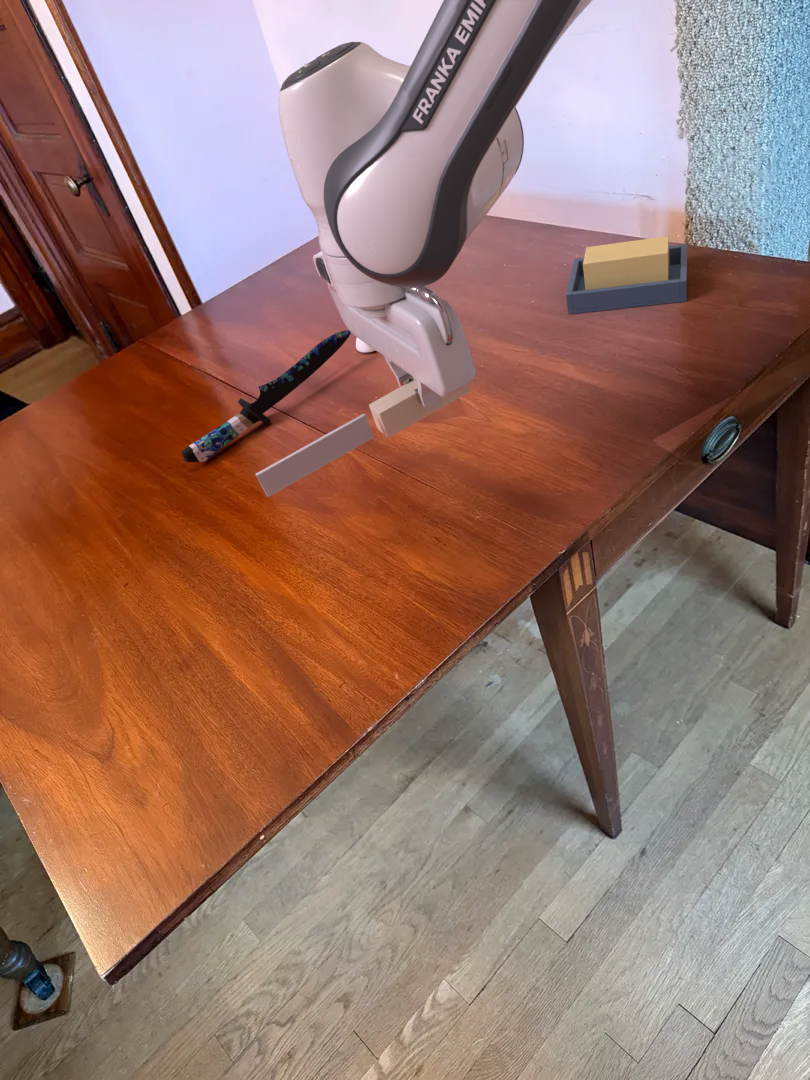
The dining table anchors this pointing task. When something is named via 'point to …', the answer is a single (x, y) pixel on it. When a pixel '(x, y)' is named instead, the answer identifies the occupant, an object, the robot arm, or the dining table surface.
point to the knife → (264, 400)
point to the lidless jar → (363, 346)
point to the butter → (626, 263)
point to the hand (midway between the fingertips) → (420, 396)
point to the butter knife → (351, 436)
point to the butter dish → (629, 288)
